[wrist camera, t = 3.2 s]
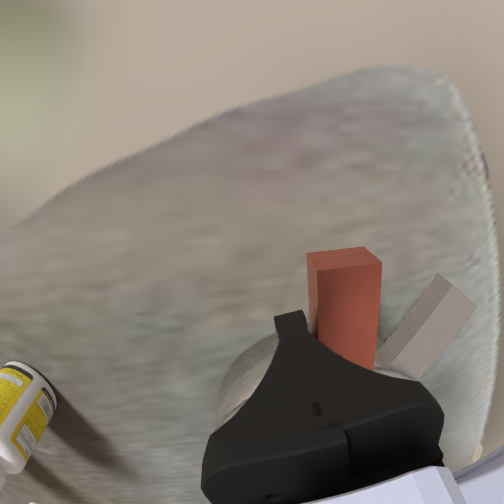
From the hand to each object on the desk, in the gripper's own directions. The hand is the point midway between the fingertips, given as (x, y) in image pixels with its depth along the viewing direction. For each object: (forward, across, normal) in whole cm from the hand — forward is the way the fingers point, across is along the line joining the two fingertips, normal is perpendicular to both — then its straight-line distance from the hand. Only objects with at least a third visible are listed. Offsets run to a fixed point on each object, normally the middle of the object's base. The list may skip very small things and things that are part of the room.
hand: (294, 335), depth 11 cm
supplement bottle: (+6, +20, +5) cm, 22 cm away
